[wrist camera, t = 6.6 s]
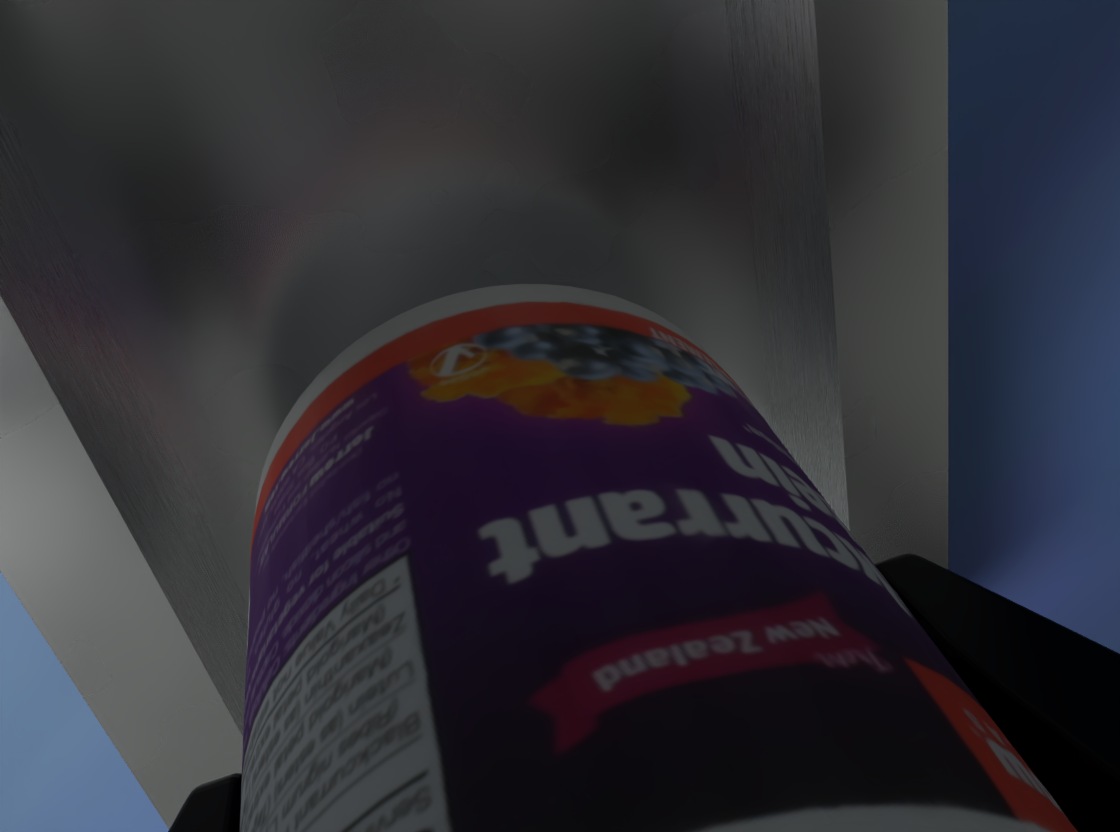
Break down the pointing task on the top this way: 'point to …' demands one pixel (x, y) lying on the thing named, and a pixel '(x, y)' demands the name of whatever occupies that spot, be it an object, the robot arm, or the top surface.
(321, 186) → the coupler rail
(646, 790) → the pill bottle
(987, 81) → the top surface
